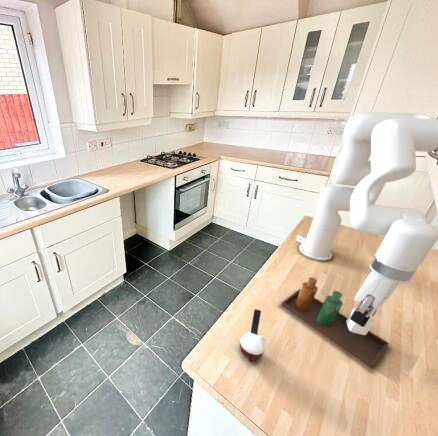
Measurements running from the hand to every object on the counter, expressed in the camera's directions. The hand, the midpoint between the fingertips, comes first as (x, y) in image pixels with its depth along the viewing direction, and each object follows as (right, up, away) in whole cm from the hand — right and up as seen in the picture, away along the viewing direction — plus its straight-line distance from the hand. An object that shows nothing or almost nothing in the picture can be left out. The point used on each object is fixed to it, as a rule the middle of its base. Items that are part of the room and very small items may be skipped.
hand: (361, 317), depth 68 cm
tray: (-3, -6, +9) cm, 11 cm away
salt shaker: (0, -4, +2) cm, 5 cm away
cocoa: (-31, -11, +2) cm, 33 cm away
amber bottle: (-7, -2, +15) cm, 17 cm away
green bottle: (-4, -5, +9) cm, 11 cm away
